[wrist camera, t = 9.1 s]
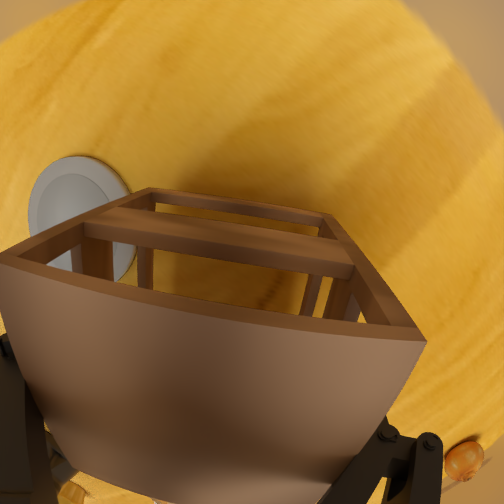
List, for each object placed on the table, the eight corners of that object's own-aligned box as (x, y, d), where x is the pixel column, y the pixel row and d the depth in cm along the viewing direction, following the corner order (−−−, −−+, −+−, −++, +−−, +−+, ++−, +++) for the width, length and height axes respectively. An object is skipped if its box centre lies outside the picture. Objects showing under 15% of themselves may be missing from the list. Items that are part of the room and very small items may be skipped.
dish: (40, 273, 27) (34, 278, 26) (35, 155, 23) (26, 156, 21) (139, 298, 27) (133, 305, 26) (143, 159, 23) (136, 159, 21)
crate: (147, 336, 22) (72, 467, 10) (148, 187, 18) (-12, 259, 6) (293, 362, 22) (300, 518, 10) (331, 214, 18) (427, 341, 6)
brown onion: (434, 465, 33) (454, 493, 27) (471, 436, 31) (492, 465, 25) (439, 456, 38) (456, 481, 32) (471, 430, 37) (489, 455, 31)
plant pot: (59, 480, 52) (48, 502, 43) (59, 472, 49) (47, 496, 40) (89, 497, 54) (79, 520, 44) (92, 491, 50) (81, 516, 41)
